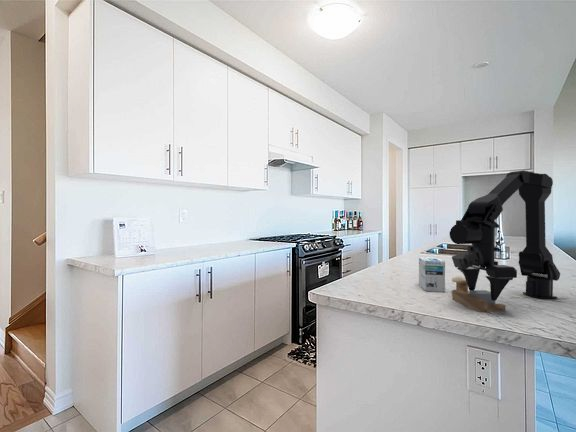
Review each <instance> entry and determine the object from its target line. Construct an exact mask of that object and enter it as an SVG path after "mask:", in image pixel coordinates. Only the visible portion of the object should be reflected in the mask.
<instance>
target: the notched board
mask: <svg viewBox="0 0 576 432" xmlns="http://www.w3.org/2000/svg"><path fill="white" fill-rule="evenodd" d="M451 294H452V301H455V302H457V303H459V304H461V305H463V306H465V307H467V308H470V309H472V310H474V311H476V312H478V313H488V312H489V311H490V312H491V311H492V312H495V311H496V312H497V311H500V312H501V311H506V309H507V306H506V305H507V304H504V303H495V304H487V301H486V300H484V299H481V298H479V297H476V296H474V295H471V294H469V293H466V292H464V291H461V290H456V289H452V290H451Z"/></svg>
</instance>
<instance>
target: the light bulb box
mask: <svg viewBox="0 0 576 432" xmlns="http://www.w3.org/2000/svg"><path fill="white" fill-rule="evenodd" d="M418 285H419V286H420V287H421V288H422V289H423V290H424V291H425V292H438V293H439V292H440V293H445V292H446V261H444V260H442V259H440V258H438V257H435V256H418Z"/></svg>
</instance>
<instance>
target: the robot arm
mask: <svg viewBox="0 0 576 432" xmlns="http://www.w3.org/2000/svg"><path fill="white" fill-rule="evenodd" d="M553 181H554V180H553V178H552V177H551V176H549V175H548V174H547V173H538V172H537V173H536V172H532V171H528V170H524V169H523V170H515V171H510V172H508V173H506V175H505V177H504V178H503V179H502V180H501V181H500V182H499V183H498V184H497V185H496V186H495V187H494V188H492V189H491V190H490V191H489V193H487V194H485V195H483V196H480V197H478V198H475V199H474V200H473V201H471V202H470V203H469V204H468V207H467V208H466V211H465V212H464V214H463V216H462V218H461V219H460V220H459V219H458V220H455V224H454V225H452V227H451V228H450V231H449V233H448V234H449V238H450V240H451V241H452V242H453V243H454V244H456V245H468V246H467V249H466V251H462V252H460V253H457V254H455V255H452V256H451V259H452V262H453V264H454V265H453V267H455V268H456V269H457V270H458V271H460V272H461V273H462V275H464V278H465V279H466V282H467V285H468V291H470V290H476V287H477V283H478V279H479V278H478V277H479V274H480V271H485V273H486V275H485V278H486V279H487V280H488V281H489V285H490V288H489V289H490V292H491V299H492V300H495V301H497V300H498V298H499V296H500V295H501V293H502V292H503V290H504V288H506V286H507V285H508V283H509V282H510V281H513V280H514V279H516V278H518V277H517V276H518V270H517V269H516V268H515V267H514V266H510V265H505V264H499V261H496V260H495V252H499V247H497V246H495V244H496V243H495V239H496V237H495V235H496V234H495V233H496V229H499V228H500V224H498V223H497V222H496V221H495V220H497V219H498V218H499V216H500V215H501V214H502V212H503V211H504V208H503V205H504V204H505V203H506V202H507V201H508V200H509V199H510V198H511V197H512V196H514V194H515V193H516V192H517V191H518V195H519V197H520V198H521V199H522V200H523V202H524V208H525V247H524V248H523V250H522V251H521V250H520V251H519V252H518V265H519V269H520V274H521V276H524V277H525V276H526V281H525V291H523V292H522V294H523V295H527V296H530V297H533V298H536V299H541V300H543V299H547V300H548V299H558V296H556V295H554V292H553V291H554V290H553V289H554V281H555V282H557V281H559V280H560V276H561V272H560V270H559V269H558V267H557V265H556V264H555V263H554V260H553V259H554V258H553V254H552V253H551V252H550V251H549V249H548V248H547V245H546V210H545V209H546V200H548V198H549V197H550V195H551V194H552V188H553V185H554V184H553V183H554V182H553Z"/></svg>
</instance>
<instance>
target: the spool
mask: <svg viewBox="0 0 576 432" xmlns="http://www.w3.org/2000/svg"><path fill="white" fill-rule="evenodd" d="M451 281H452V282H453V283H456V285H455V288H456V289H455V290H461V291H464V292H466V293H469V294H470V291H469V288H468V285H467V282H466V279H465V277H457V276H456V277H455V276H454V277H452V278H451Z"/></svg>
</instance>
